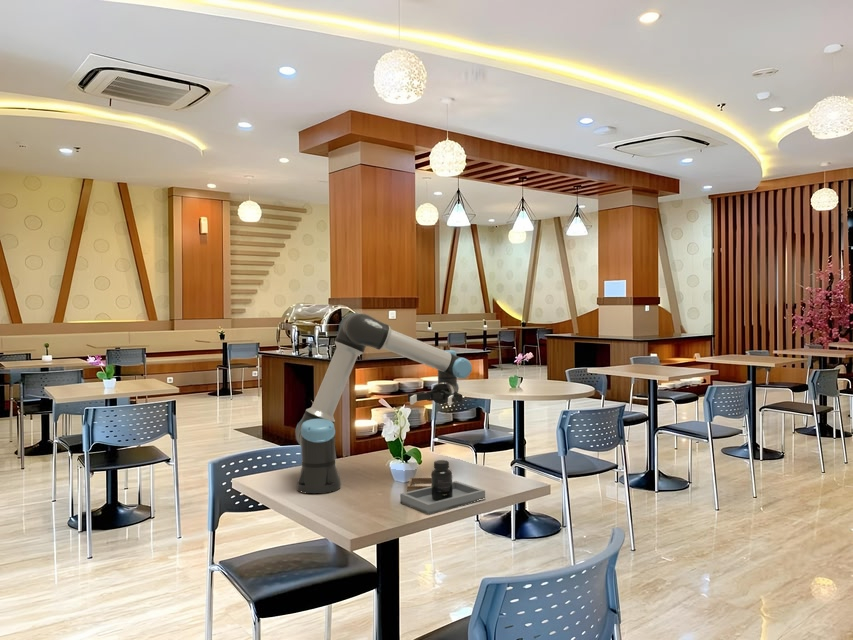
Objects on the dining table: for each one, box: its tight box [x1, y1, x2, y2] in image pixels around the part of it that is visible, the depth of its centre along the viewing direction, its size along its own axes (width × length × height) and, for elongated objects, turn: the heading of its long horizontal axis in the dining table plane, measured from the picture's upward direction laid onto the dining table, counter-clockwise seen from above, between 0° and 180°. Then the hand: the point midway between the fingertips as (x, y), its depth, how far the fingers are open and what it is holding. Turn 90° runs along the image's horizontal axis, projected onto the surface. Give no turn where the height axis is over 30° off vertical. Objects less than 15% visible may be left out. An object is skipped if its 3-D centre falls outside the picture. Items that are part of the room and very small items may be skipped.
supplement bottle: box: [430, 459, 453, 501], centre depth 200 cm, size 7×7×12 cm
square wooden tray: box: [406, 477, 431, 492], centre depth 216 cm, size 11×11×2 cm
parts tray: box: [399, 480, 486, 515], centre depth 200 cm, size 15×23×3 cm, turn 127°
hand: (429, 401), depth 216 cm, fingers open, 13 cm apart
